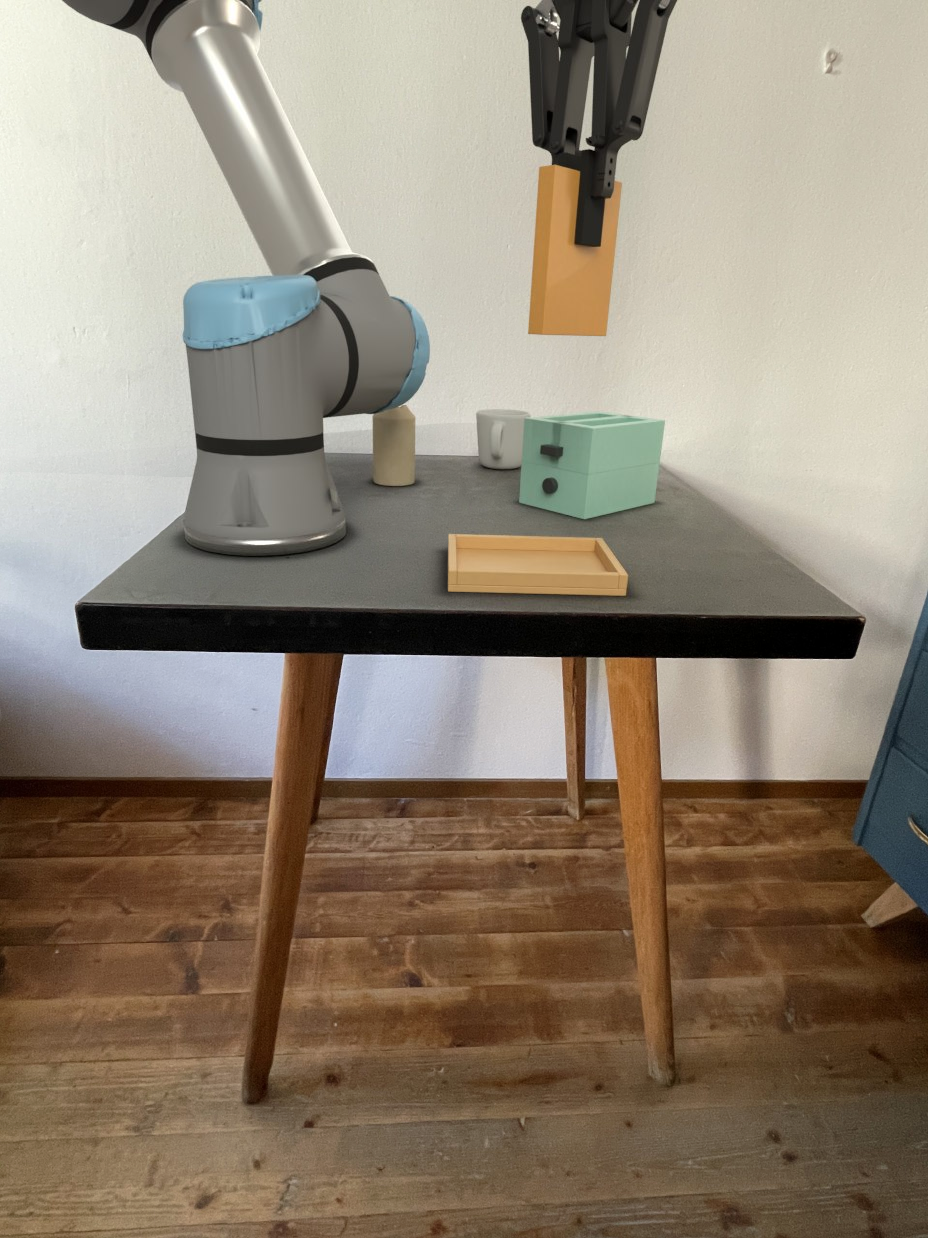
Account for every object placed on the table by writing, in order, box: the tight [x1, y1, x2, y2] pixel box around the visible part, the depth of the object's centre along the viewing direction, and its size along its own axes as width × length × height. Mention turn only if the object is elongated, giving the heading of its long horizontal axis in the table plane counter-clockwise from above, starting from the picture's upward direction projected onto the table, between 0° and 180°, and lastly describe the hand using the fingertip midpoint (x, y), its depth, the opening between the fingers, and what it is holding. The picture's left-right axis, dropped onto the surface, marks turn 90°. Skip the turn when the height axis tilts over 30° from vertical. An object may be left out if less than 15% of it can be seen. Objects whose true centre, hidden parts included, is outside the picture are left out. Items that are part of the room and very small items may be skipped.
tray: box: [447, 533, 629, 597], centre depth 64 cm, size 14×11×2 cm
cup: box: [475, 408, 532, 470], centre depth 108 cm, size 11×8×8 cm
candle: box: [372, 404, 416, 487], centre depth 96 cm, size 6×6×10 cm
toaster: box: [518, 411, 666, 520], centre depth 88 cm, size 10×15×10 cm, turn 133°
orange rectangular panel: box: [527, 164, 623, 337], centre depth 61 cm, size 2×9×12 cm, turn 135°
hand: (576, 244), depth 61 cm, fingers closed on orange rectangular panel, 1 cm apart
